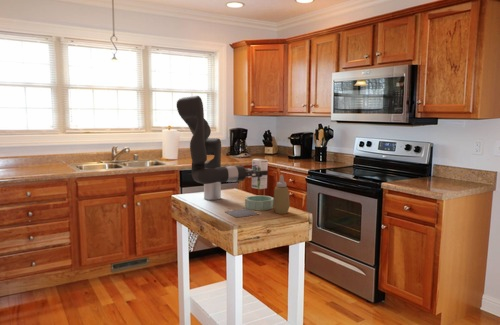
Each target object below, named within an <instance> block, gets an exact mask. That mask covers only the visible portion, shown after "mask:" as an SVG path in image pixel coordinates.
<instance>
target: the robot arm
mask: <svg viewBox="0 0 500 325" xmlns="http://www.w3.org/2000/svg"><path fill="white" fill-rule="evenodd" d="M176 109H177V110H176V111H177V113H178V115H179V117H180V119H182V121H184V122H185V124H186V125H187V126H188V129H189V130H190V132H191V135H192V136H191V139H190V142H189V152H190V157H191V158H190V159H191V177H192V179H193V181H194V182H196V183H198V184H202V185H203V199H204V200H207V201H208V200H209V201H216V200H220V199H222V188H221V187H222V185H221V184H222V183H225V182H226V183H227V182H228V183H231V182H232V183H233V182H234V183H235V182H244V181H245V179H246V178H249V179H250V178H252V177H262V175H267V176H269V175H268V173H269V172H268V170H267V171H257V170H252V168H245V166H244V165H229V166H222V165H221V164H222V160H221V158H222V142H221V139H220V137H219V138H216V137H214V138H213V137H212V138H211V137H210V136H211V132H212V130H211V126H210V125H209V122H208V121H207V120H206V119H205V113H204V103H203V99H202V98H201V96H199V95H193V96H186V97H181V98H179V99H177V101H176ZM208 156H213V158H212V159H209V160H208ZM254 171H255V172H254Z"/></svg>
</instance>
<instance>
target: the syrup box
mask: <svg viewBox="0 0 500 325" xmlns="http://www.w3.org/2000/svg"><path fill="white" fill-rule="evenodd" d="M251 161H252V162H251V169H252V170H257V171H268V164H269V161H268V159H263V158H252V160H251ZM254 172H255V171H254ZM251 188H252V189H257V190H264V189H268V175H262V177H251Z"/></svg>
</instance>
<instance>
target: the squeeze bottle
mask: <svg viewBox="0 0 500 325" xmlns="http://www.w3.org/2000/svg"><path fill="white" fill-rule="evenodd" d="M278 180H279V181H277V182H276V186H275V187H274V193H273V198H274V200H273V210H274V213H275V214H279V215H284V214H287V213H288V212H289V210H290V208H291V202H290V193H289V192H290V191H289V187H287V186H288V185H287V182H286V181H285V178H284V174H280V176H279V179H278Z"/></svg>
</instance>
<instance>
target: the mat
mask: <svg viewBox="0 0 500 325" xmlns="http://www.w3.org/2000/svg"><path fill="white" fill-rule="evenodd" d="M224 213H225V214H227V215H229V216H232V217H234V218H237V219H238V218H243V217H244V218H245V217H250V216H251V217H252V216H260V213H258V212H256V211H254V210H250V209H247V208H241V209H234V210H227V211H224Z"/></svg>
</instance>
